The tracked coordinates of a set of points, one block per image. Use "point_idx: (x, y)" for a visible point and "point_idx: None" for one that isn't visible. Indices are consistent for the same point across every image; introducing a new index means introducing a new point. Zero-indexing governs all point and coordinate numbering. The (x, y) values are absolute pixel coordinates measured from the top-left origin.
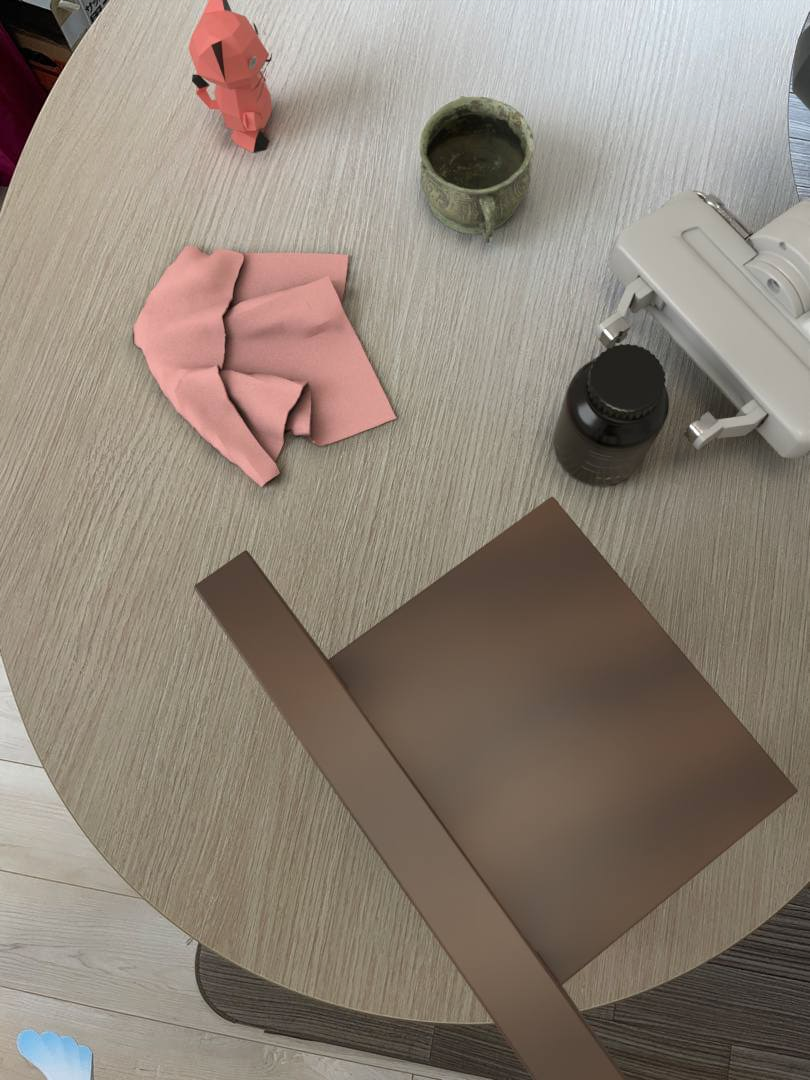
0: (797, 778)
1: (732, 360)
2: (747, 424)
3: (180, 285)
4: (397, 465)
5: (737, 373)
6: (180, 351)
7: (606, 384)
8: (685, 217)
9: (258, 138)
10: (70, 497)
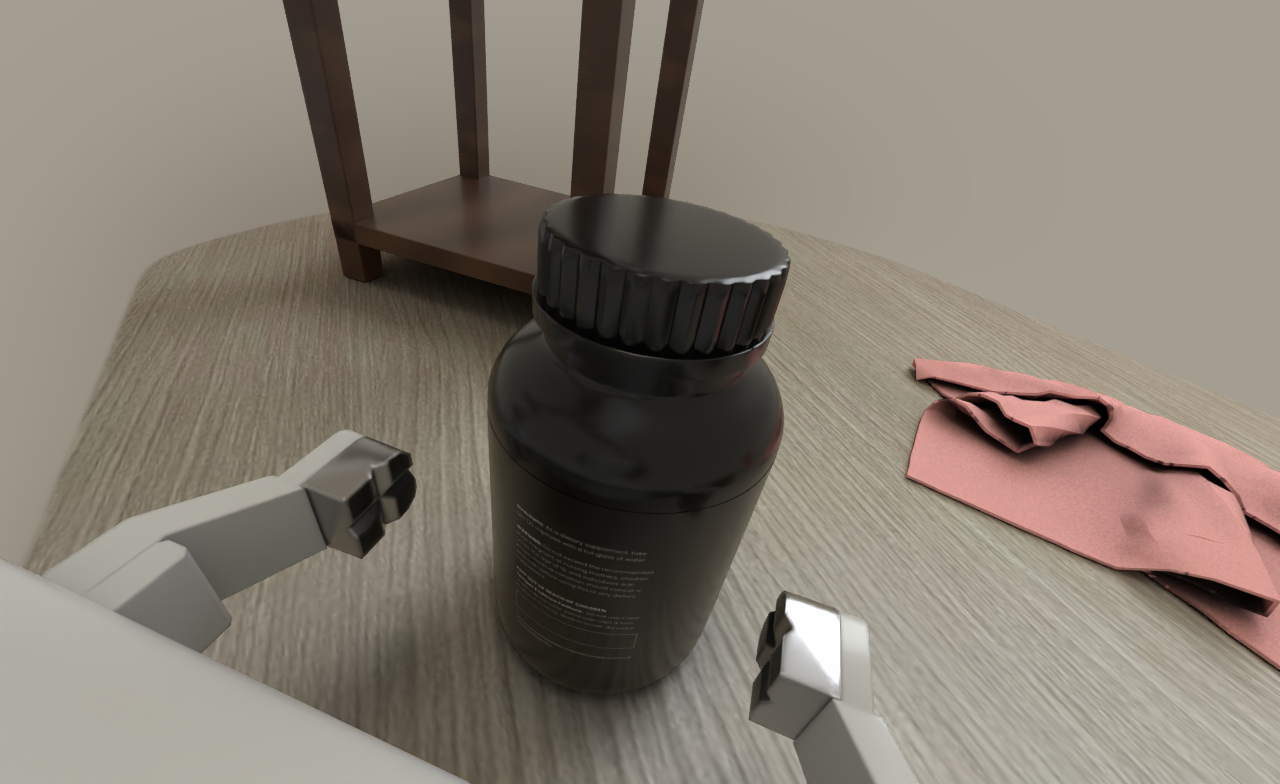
0: (132, 313)
1: (228, 706)
2: (161, 509)
3: None
4: (837, 430)
5: (197, 658)
6: (1150, 431)
7: (704, 218)
8: None
9: None
10: (995, 321)
